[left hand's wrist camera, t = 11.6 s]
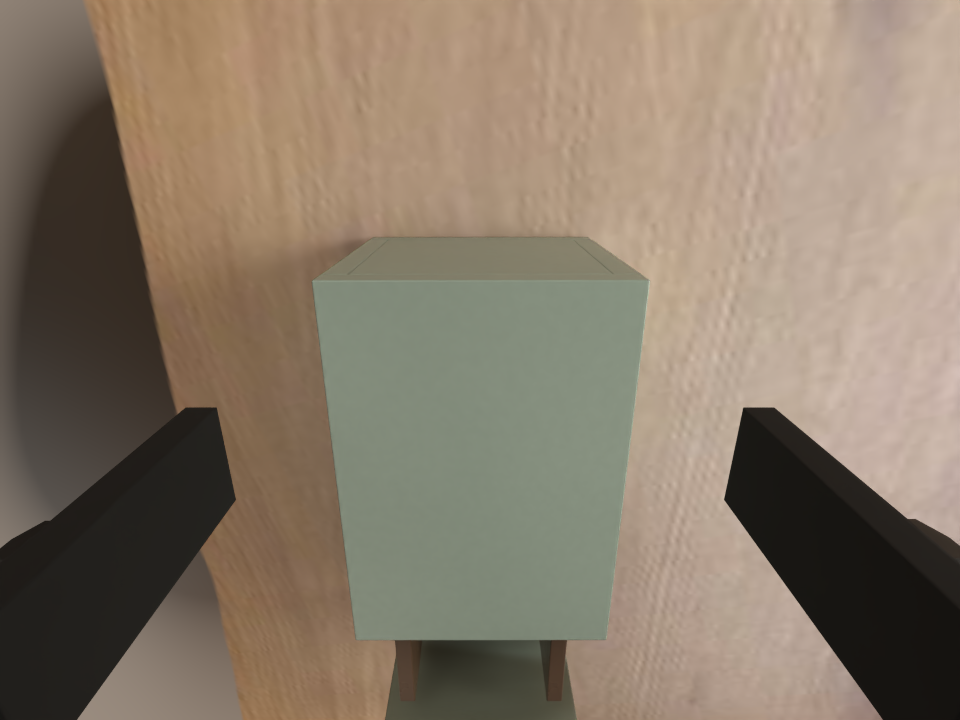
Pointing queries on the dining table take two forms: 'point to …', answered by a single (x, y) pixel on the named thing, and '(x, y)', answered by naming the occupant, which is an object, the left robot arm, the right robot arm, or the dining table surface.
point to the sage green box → (480, 431)
